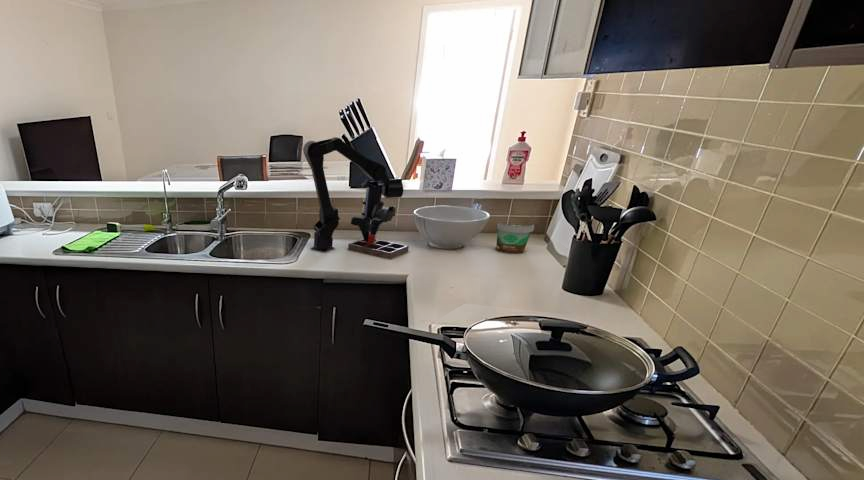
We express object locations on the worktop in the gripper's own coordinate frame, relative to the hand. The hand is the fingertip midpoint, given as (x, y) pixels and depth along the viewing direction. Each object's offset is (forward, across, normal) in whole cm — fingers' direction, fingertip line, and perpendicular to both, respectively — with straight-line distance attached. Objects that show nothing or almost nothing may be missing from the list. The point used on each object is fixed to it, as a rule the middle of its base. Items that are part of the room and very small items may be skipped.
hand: (369, 240), depth 195 cm
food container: (+3, +27, -43) cm, 51 cm away
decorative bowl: (+3, +21, -21) cm, 30 cm away
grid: (+2, -3, -6) cm, 7 cm away
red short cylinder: (+1, 0, 0) cm, 1 cm away
